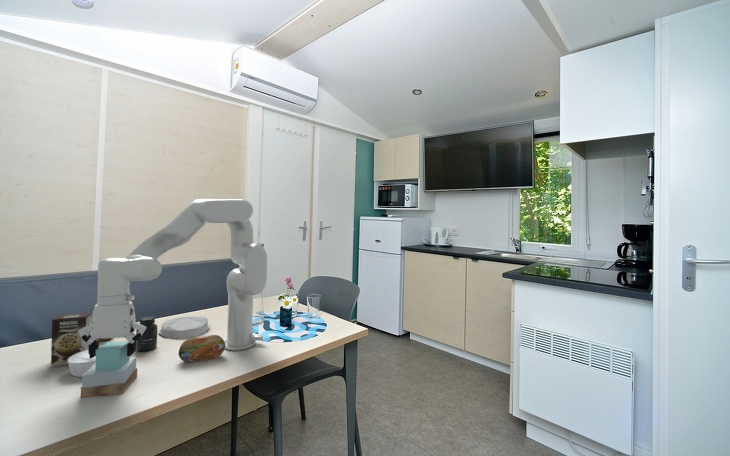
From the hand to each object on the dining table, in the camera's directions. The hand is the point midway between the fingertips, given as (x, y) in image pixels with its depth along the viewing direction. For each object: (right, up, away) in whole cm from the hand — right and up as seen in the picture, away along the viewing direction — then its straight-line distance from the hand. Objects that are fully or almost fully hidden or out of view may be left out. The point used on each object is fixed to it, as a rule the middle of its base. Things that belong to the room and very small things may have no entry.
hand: (112, 355), depth 95 cm
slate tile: (-1, -7, 0) cm, 7 cm away
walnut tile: (-1, -10, 0) cm, 10 cm away
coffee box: (-26, -8, +15) cm, 31 cm away
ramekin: (-15, -9, +9) cm, 20 cm away
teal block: (0, -3, 0) cm, 3 cm away
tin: (+16, -10, +21) cm, 28 cm away
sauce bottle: (-31, -7, +34) cm, 47 cm away
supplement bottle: (-9, -9, +27) cm, 30 cm away
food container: (-5, -8, +48) cm, 49 cm away
